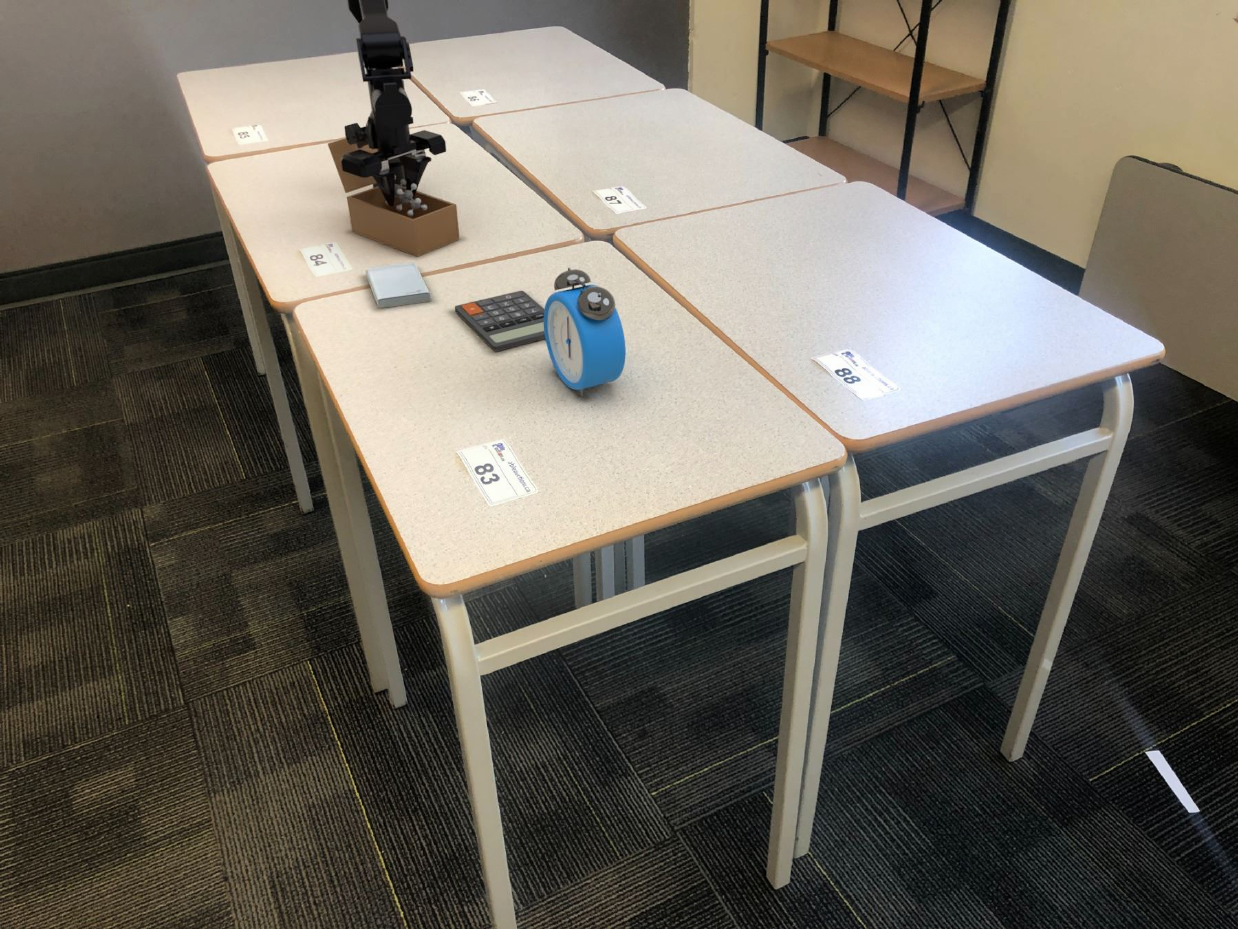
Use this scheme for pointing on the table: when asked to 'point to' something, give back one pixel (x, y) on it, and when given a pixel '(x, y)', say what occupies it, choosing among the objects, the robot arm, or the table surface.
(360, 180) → the carton flap
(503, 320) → the calculator
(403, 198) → the molecular model
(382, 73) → the robot arm
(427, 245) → the carton
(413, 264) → the hard drive
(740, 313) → the table surface
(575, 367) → the alarm clock
